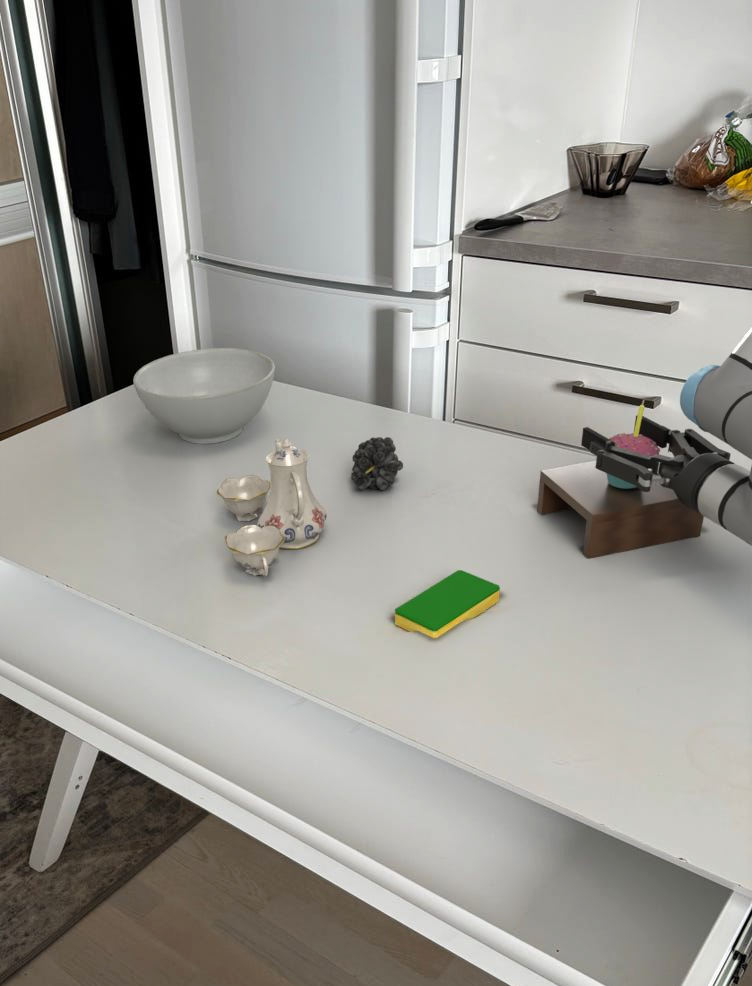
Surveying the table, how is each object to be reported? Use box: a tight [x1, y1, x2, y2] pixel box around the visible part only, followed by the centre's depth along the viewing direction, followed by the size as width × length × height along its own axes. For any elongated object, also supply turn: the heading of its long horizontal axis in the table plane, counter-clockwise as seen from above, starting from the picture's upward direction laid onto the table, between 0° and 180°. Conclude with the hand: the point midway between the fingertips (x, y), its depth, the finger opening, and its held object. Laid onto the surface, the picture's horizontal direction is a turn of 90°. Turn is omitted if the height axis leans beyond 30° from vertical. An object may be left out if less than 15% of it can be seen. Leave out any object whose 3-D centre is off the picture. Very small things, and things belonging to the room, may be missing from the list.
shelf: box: [536, 459, 705, 559], centre depth 147 cm, size 18×16×7 cm
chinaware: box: [216, 438, 328, 577], centre depth 149 cm, size 28×17×17 cm, turn 12°
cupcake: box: [606, 399, 661, 489], centre depth 141 cm, size 9×8×12 cm
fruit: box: [350, 436, 404, 491], centre depth 166 cm, size 9×8×15 cm
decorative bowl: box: [132, 347, 276, 445], centre depth 188 cm, size 27×27×12 cm
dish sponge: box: [394, 569, 501, 639], centre depth 132 cm, size 7×14×2 cm, turn 132°
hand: (610, 430), depth 144 cm, fingers closed on cupcake, 8 cm apart
